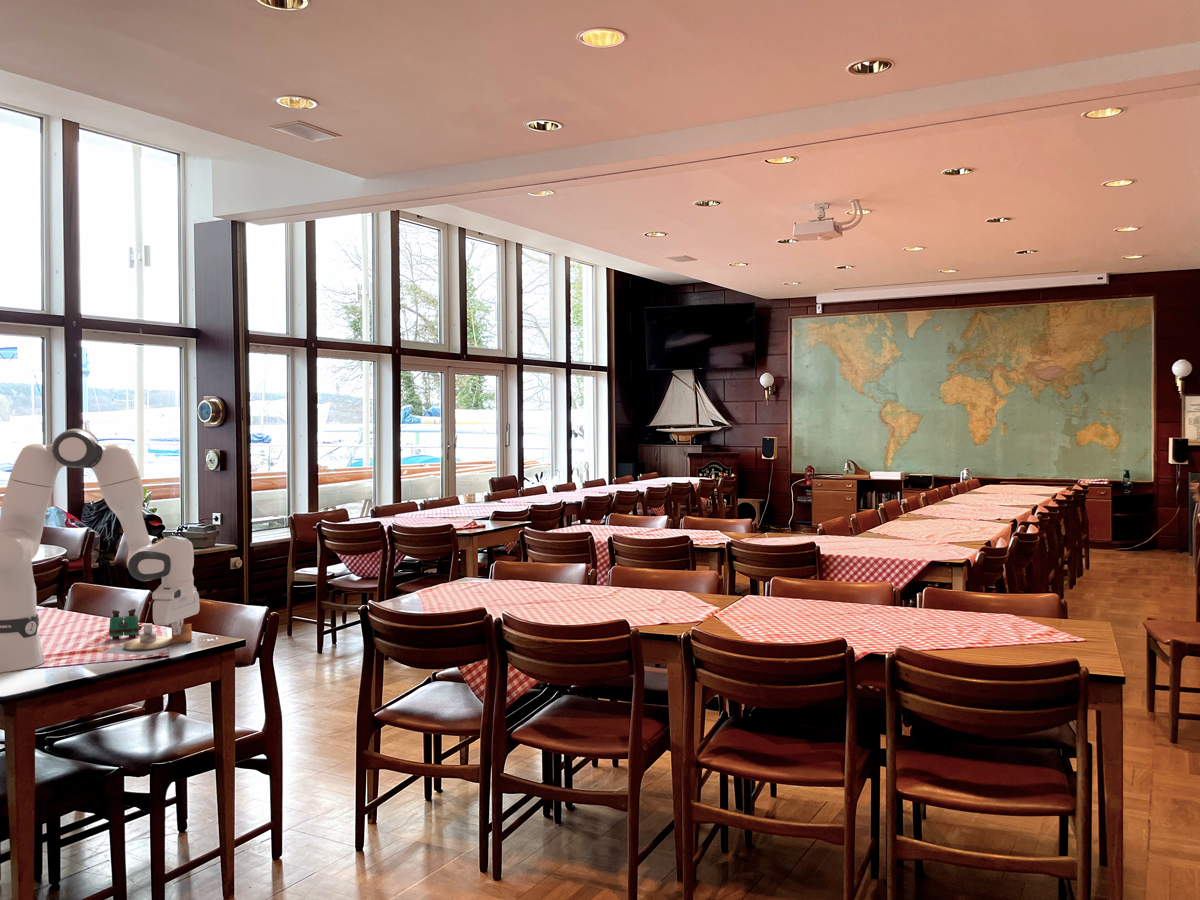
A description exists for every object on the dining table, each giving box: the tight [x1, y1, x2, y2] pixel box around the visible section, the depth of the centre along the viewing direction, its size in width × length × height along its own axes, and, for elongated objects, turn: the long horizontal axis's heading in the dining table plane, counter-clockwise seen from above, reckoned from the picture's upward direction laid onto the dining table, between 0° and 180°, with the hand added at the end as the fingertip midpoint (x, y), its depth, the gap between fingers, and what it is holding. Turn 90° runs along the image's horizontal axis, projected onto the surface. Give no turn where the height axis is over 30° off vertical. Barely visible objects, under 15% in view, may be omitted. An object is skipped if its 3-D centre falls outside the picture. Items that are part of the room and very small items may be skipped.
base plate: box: [99, 623, 195, 656], centre depth 270 cm, size 17×20×8 cm
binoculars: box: [108, 608, 142, 641], centre depth 282 cm, size 9×11×10 cm
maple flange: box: [123, 623, 193, 650], centre depth 271 cm, size 18×13×5 cm
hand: (177, 634), depth 272 cm, fingers closed, pressing on maple flange
